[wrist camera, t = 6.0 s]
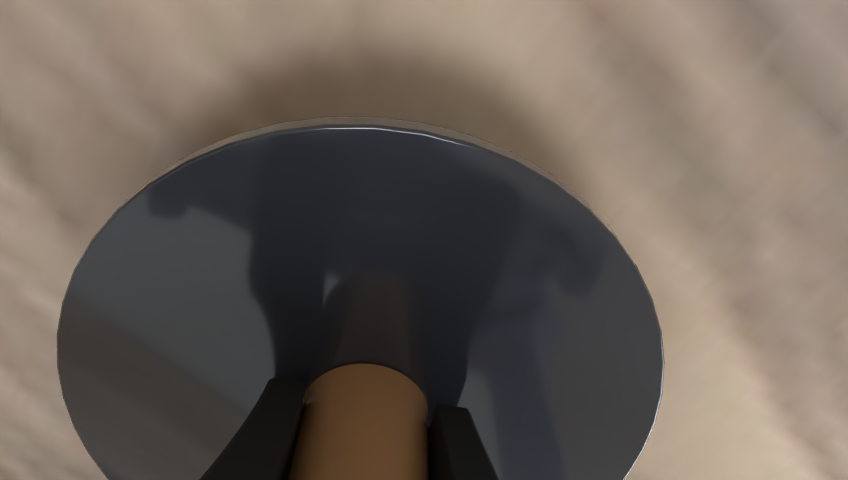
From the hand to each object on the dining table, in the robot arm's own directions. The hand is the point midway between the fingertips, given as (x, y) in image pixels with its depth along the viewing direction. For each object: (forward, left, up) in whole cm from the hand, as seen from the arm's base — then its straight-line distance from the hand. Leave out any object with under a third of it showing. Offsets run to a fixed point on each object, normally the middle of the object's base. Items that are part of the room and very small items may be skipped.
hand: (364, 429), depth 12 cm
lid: (0, 0, -1) cm, 1 cm away
